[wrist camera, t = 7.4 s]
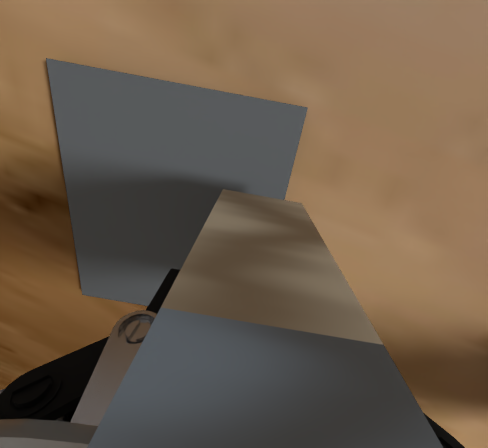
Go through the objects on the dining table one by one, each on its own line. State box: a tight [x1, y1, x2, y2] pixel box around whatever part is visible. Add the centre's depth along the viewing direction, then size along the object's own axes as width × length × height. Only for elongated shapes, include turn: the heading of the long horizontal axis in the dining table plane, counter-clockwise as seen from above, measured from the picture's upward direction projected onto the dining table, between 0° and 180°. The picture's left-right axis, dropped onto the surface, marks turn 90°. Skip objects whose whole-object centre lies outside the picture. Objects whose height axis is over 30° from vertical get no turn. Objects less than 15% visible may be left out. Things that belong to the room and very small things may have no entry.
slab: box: [87, 189, 443, 448], centre depth 8 cm, size 4×7×10 cm, turn 170°
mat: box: [46, 58, 307, 306], centre depth 15 cm, size 14×16×1 cm
